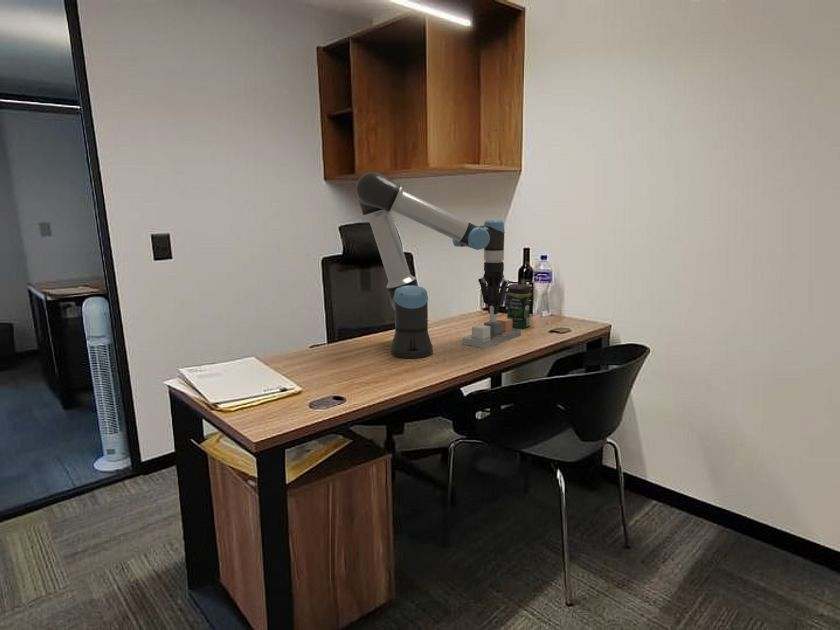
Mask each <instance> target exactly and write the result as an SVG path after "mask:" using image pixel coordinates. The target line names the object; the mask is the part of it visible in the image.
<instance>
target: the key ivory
mask: <svg viewBox="0 0 840 630" xmlns="http://www.w3.org/2000/svg"><path fill="white" fill-rule="evenodd" d="M471 335H472V338H475V339H480V340H485V339H488V338H490V326H486V325H484V324H476V325H474V326H471Z"/></svg>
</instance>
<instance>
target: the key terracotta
mask: <svg viewBox="0 0 840 630" xmlns="http://www.w3.org/2000/svg"><path fill="white" fill-rule="evenodd" d="M497 322H502V332H508V331H511V330H512V328H513V327H512V322H513V319H508V318H507V317H499V318H497Z"/></svg>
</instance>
